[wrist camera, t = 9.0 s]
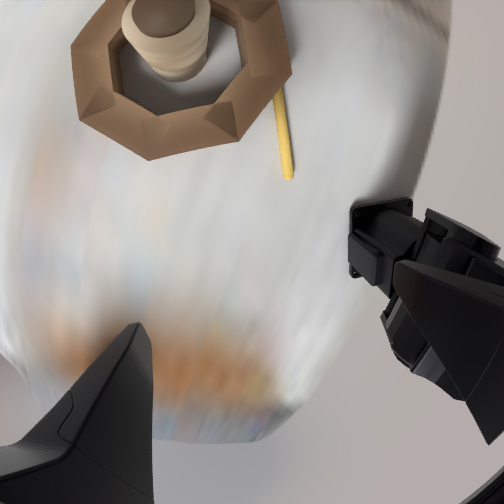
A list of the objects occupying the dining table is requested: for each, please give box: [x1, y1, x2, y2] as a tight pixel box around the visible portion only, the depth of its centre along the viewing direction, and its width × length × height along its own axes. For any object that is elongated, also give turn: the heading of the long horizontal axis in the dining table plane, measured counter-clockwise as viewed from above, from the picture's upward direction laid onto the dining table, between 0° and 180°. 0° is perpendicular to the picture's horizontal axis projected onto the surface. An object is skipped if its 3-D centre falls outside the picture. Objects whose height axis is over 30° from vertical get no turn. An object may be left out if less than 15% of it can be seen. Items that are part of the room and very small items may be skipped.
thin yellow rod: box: [273, 87, 294, 180], centre depth 17 cm, size 1×8×1 cm, turn 8°
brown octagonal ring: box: [71, 0, 292, 161], centre depth 13 cm, size 13×13×2 cm
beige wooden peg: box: [122, 0, 210, 82], centre depth 11 cm, size 4×4×9 cm
